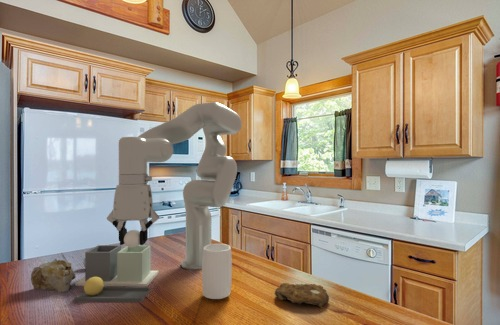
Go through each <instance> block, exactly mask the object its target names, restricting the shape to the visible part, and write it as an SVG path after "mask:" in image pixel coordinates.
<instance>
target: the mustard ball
mask: <svg viewBox="0 0 500 325" xmlns="http://www.w3.org/2000/svg"><path fill="white" fill-rule="evenodd" d="M103 287H105V286H104V282H103V280H102V279H101V278H99V277H92V278H90V279H88V280H87V281H86V283H85V285H84V286H83V292H84V291H85V293H86V294H87V295H90V296H94V295H97V294H99V293H100V292H101V291H102V289H103Z"/></svg>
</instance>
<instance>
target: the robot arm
mask: <svg viewBox="0 0 500 325" xmlns="http://www.w3.org/2000/svg"><path fill="white" fill-rule="evenodd" d="M242 121H243V120H242V119H241V116H240V115H239V114H238V113H237V112H236V111H234V110H232V109H231V108H229V107H227V106H226V105H224V104H222V103H219V102H217V101H212V102H211V101H210V102H203V103H196V104H194V105H192V106H190V107H189V108H187V109H186V110H184V111H183V112H181V113H180V114H179V115H177V116H176V117H174V118H172V119H170V120H167V121H165V122H163V123H161V124H159V125H156V126H153V127H152V128H149V129H148V130H146V131H144V132H143V133H140V135H138V136H122V137H121V138H119V140H118V184H117V185H116V187H115V192H114V195H113V197H114V198H113V209H112V211H111V212H110V213H109V215H107V217H106V220H107V221H108V222H110V223H111V224H112V225H113V227H115V228H116V231H118V241H119V245H121V246H123V245H125V243H124V236H125V234H126V233H127V232H128V229H127V228H126V226H127V221H128V222H129V221H130V222H131V221H132V222H133V221H139V225H140V230H139V232H140V245H139V246H144V245H145V244H146V243H147V241H148V237H149V235H148V229H149V228H150V227H151V226H152V225H153V224H154V223H155V222H157V221H158V220H159V219H160V216H159V215H158V213H157V212H156V211H155V209H154V202H153V194H152V189H151V185H150V184H148V182H151V181H153V177H152V176H151V175H150V176H149V175H148V163H164V162H167V161H168V160H170V159H171V157H172V156H173V153H174V147H173V145H174V144H178V143H182V142H185V141H188V140H189V139H191V138H192V137H193V136H194V135H196V134H197V133H198V132H199V131H201V130H202V131H203V134H204V137H205V146H204V147H205V148H204V150H203V153H202V155H201V157H200V159H199V162H198V165H197V167H196V168H197V169H196V175H197V176H198V178H200V179H195V180H194V179H193V180H190V181H188V182H187V183H186V184H185V185H184V187H183V188H182V189H183V190H182V197H183V202H184V207H185V258H184V259H183V260H182V261H181V263H180V266H181V268H183V269H185V270H189V271H202V258H203V248H204V247H205V246H207V245H210V244H212V221H213V220H212V213H211V211H210V209H209V208H222V207H224V206H225V205H226V204H227V202H228V200H229V198H230V195H231V192H232V189H233V186H234V184H235V182H236V177H237V174H238V164H237V162H236V160H235V159H234V158H233V157H232V156H228V155H226V154H227V145H226V143H225V141H224V140H223V138H222V136H224V135H226V136H228V135H237V134H238V133H239V132H240V131H241V129H242V125H243V122H242ZM149 218H151V219H150V220H148V219H149Z"/></svg>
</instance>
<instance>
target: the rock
mask: <svg viewBox="0 0 500 325" xmlns="http://www.w3.org/2000/svg"><path fill="white" fill-rule="evenodd" d="M76 278H77V276H76V273H75V271H74V269H73V266H72V263H71V262H68V261H67V260H65V259H61V260H60V259H56V258H54V260H52V261H48V262H45V263H42V264H39V265H38V266H35V267H34V268H33V269H32V271H31V273H30V282H31V285H32V286H33V287H32V288H33V289H36V290H37V289H38V290H45V291H47V290H49V291H52V290H55V291H56V292H59V293H65V292H68V291H69V290H70V287H72V286H71V283H72V281H73V280H75V279H76Z"/></svg>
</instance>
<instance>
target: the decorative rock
mask: <svg viewBox="0 0 500 325" xmlns="http://www.w3.org/2000/svg"><path fill="white" fill-rule="evenodd" d="M274 295H275V296H276V298H277V299H278V300H280V301H284V300H286V301H287V300H289V301H291V303H293V304H298V305H302V303H305V304H310V305H314V306H318V307H319V308H321V307H324V306H325V303H328V302H330V301H329V300H330V296H329V295H328V292H327V290H326V289H325V288H324V287H323V286H322V285H321V284H318V285H317V284H314V283H305V284H298V283H297V284H296V283H295V284H292V283H291V284H290V282H285V283H284V282H283V283H280V285H279V287H277V288H276V289H275V291H274ZM328 304H329V303H328Z"/></svg>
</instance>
